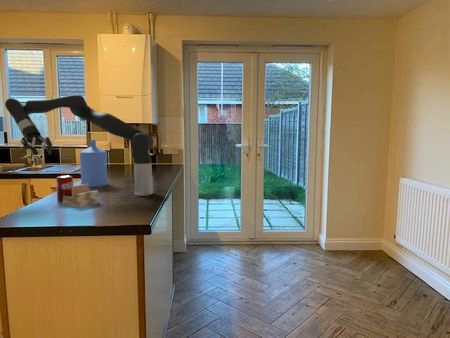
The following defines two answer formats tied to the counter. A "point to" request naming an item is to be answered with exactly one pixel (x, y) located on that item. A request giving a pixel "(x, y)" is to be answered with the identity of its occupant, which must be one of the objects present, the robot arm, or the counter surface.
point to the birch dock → (82, 199)
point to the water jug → (93, 166)
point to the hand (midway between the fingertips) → (43, 153)
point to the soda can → (64, 187)
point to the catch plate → (79, 189)
